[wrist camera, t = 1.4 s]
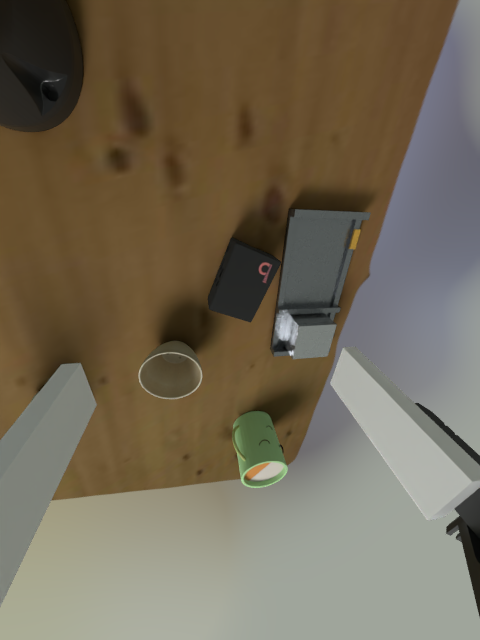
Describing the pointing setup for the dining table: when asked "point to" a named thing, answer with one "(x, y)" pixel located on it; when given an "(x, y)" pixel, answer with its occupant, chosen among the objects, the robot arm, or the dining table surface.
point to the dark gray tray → (312, 280)
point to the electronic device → (242, 280)
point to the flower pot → (171, 371)
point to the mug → (258, 450)
